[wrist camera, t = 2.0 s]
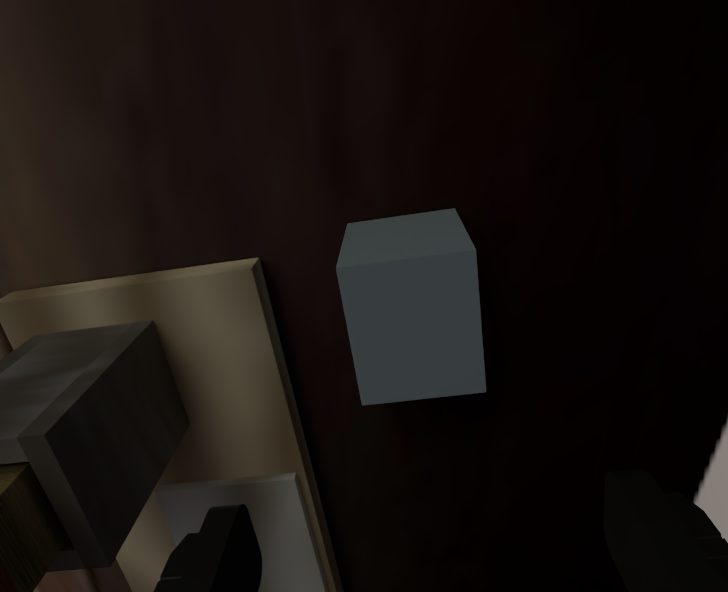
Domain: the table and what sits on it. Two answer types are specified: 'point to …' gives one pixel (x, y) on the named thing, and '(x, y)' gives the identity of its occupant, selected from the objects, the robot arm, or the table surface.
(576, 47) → the table surface
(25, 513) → the block
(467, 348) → the block
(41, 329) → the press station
